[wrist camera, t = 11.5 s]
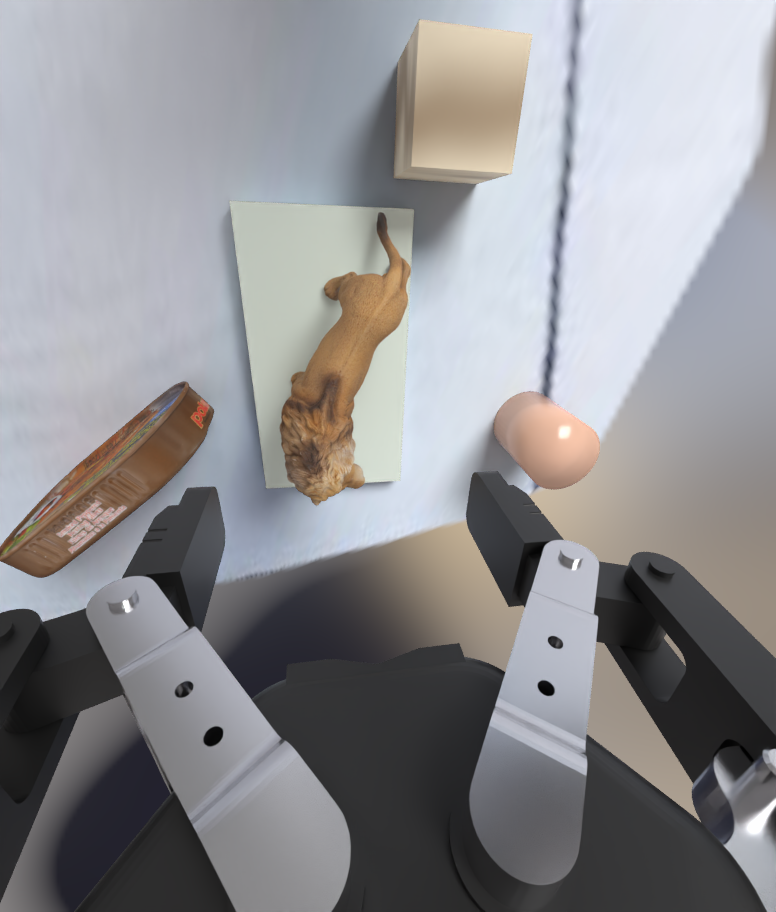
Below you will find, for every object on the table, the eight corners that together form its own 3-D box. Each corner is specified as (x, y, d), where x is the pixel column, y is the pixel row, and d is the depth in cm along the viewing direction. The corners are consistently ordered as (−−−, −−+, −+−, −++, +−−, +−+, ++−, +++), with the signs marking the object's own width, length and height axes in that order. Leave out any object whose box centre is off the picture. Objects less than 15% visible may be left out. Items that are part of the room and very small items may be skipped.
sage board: (232, 202, 23) (229, 200, 22) (409, 210, 24) (414, 209, 23) (267, 480, 31) (266, 488, 30) (397, 472, 33) (400, 480, 32)
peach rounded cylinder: (498, 392, 31) (536, 424, 26) (560, 390, 32) (608, 421, 27) (489, 451, 33) (522, 491, 28) (546, 448, 34) (588, 487, 29)
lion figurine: (349, 448, 30) (362, 525, 22) (274, 431, 28) (260, 507, 21) (420, 229, 24) (474, 227, 16) (331, 192, 22) (342, 171, 15)
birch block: (397, 62, 21) (419, 19, 17) (489, 73, 22) (532, 34, 18) (393, 178, 24) (411, 166, 19) (476, 184, 25) (511, 173, 20)
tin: (197, 363, 27) (154, 412, 19) (234, 399, 28) (206, 457, 21) (42, 494, 29) (-49, 581, 22) (83, 521, 31) (11, 611, 23)
